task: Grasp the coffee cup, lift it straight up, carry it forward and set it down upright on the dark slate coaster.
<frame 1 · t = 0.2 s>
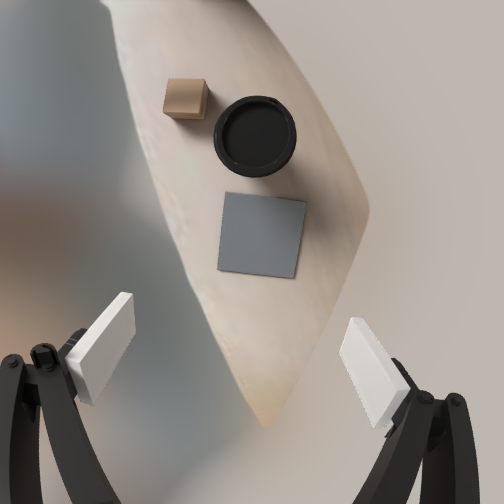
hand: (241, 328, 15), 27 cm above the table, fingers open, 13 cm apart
slate coaster: (260, 235, 41), on the table
walnut block: (190, 103, 35), on the table
coffee cup: (252, 147, 38), on the table
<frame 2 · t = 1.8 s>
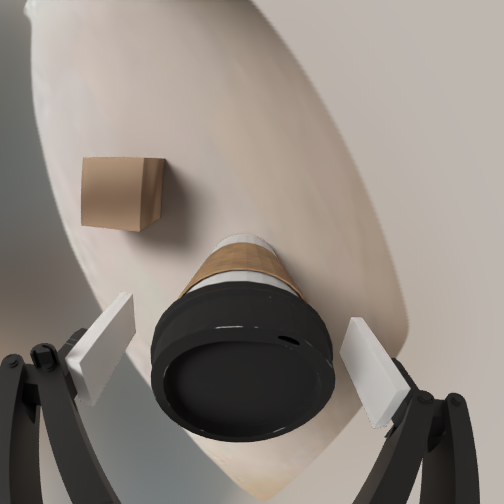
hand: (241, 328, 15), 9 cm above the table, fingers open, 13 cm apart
walnut block: (135, 186, 21), on the table
coffee cup: (243, 265, 24), on the table
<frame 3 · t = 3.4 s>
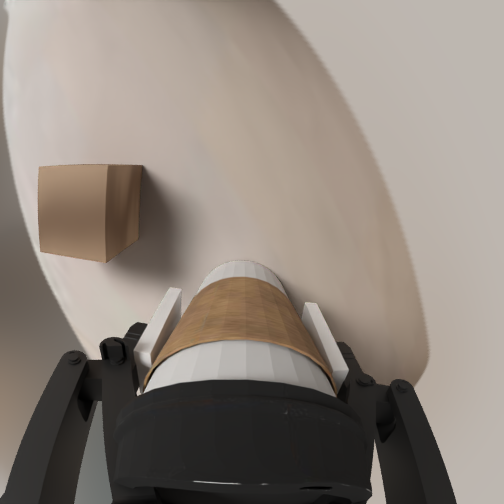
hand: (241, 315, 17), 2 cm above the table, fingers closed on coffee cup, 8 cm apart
walnut block: (108, 200, 17), on the table
coffee cup: (241, 298, 19), on the table, touching gripper
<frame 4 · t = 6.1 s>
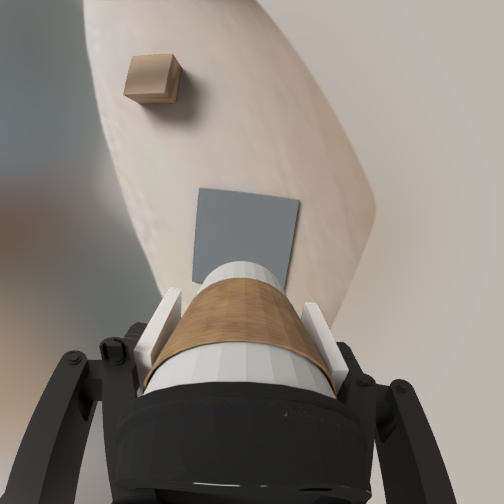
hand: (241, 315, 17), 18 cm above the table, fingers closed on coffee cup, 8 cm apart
slate coaster: (243, 240, 34), on the table
walnut block: (160, 85, 28), on the table
coffee cup: (241, 299, 19), point 16 cm above the table, touching gripper
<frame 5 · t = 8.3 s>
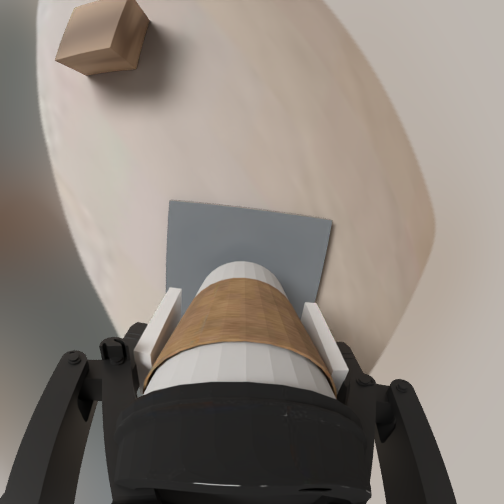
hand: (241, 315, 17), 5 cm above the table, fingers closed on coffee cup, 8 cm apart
slate coaster: (242, 283, 22), on the table
walnut block: (117, 47, 15), on the table
coffee cup: (241, 299, 19), point 3 cm above the table, touching gripper
when the fingers open (5 cm above the table, at t = 9.2 s): coffee cup drops 2 cm, resting on slate coaster.
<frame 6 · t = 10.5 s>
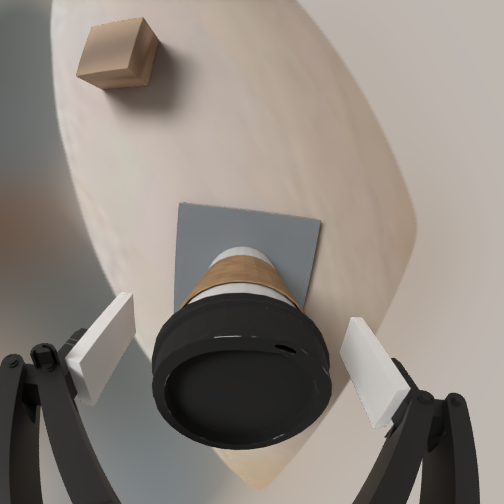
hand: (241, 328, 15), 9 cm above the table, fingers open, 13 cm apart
slate coaster: (242, 276, 25), on the table
walnut block: (130, 64, 19), on the table
coffee cup: (241, 278, 24), resting on slate coaster
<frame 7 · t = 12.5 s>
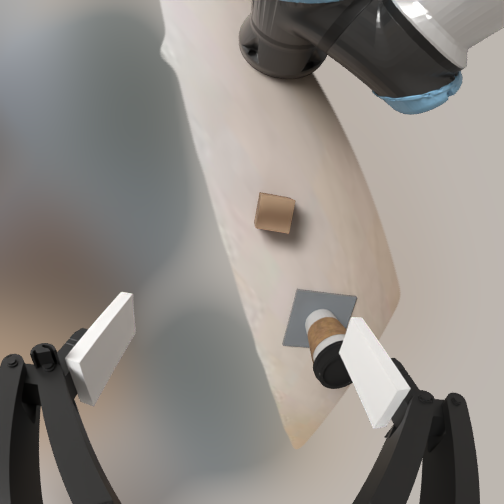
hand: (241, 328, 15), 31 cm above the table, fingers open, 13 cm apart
slate coaster: (319, 320, 50), on the table
walnut block: (272, 209, 44), on the table
coffee cup: (319, 321, 50), resting on slate coaster
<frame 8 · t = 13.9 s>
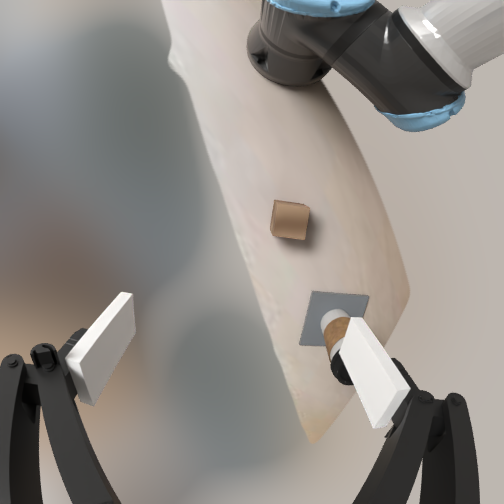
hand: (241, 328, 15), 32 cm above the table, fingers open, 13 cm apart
slate coaster: (333, 320, 52), on the table
walnut block: (286, 216, 46), on the table
coffee cup: (334, 321, 51), resting on slate coaster
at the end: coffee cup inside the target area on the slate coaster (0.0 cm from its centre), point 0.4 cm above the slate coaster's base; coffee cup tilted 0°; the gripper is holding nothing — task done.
